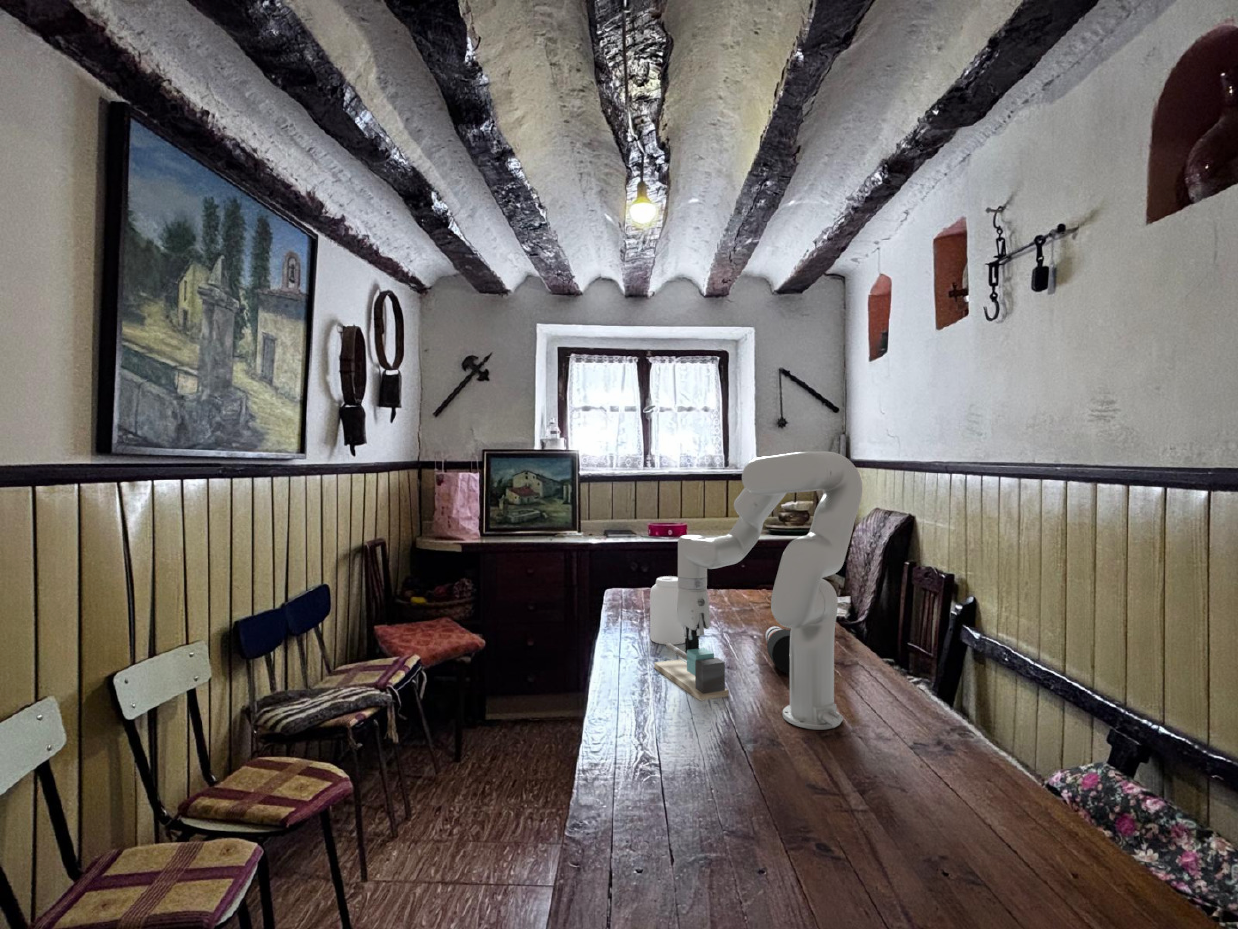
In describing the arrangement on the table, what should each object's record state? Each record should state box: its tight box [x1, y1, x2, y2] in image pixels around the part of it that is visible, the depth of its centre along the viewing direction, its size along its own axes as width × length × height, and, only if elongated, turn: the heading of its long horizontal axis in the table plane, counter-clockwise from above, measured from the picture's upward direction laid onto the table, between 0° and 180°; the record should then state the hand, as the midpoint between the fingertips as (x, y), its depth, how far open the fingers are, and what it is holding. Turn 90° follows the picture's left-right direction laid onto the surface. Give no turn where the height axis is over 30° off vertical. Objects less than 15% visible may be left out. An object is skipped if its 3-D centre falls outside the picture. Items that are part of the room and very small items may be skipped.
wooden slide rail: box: [653, 643, 729, 702], centre depth 170 cm, size 26×8×8 cm, turn 22°
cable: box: [765, 625, 791, 675], centre depth 190 cm, size 10×34×10 cm, turn 172°
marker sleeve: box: [686, 647, 715, 676], centre depth 164 cm, size 5×5×5 cm
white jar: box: [649, 575, 685, 646], centre depth 208 cm, size 12×12×20 cm
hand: (691, 653), depth 168 cm, fingers closed
